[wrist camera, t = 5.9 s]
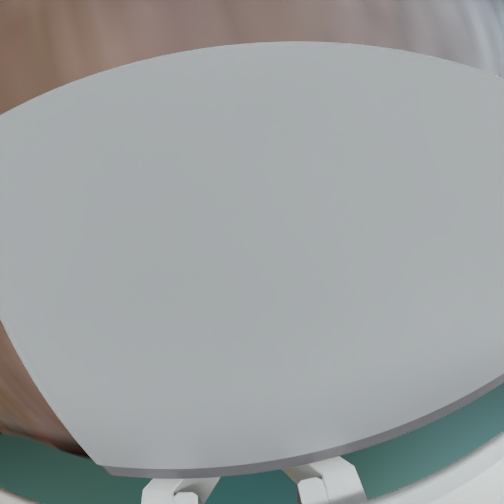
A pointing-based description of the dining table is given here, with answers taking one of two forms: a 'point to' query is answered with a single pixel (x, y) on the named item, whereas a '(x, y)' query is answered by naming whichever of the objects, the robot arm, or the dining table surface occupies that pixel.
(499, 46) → the dining table surface
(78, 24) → the dining table surface
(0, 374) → the dining table surface
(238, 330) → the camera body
